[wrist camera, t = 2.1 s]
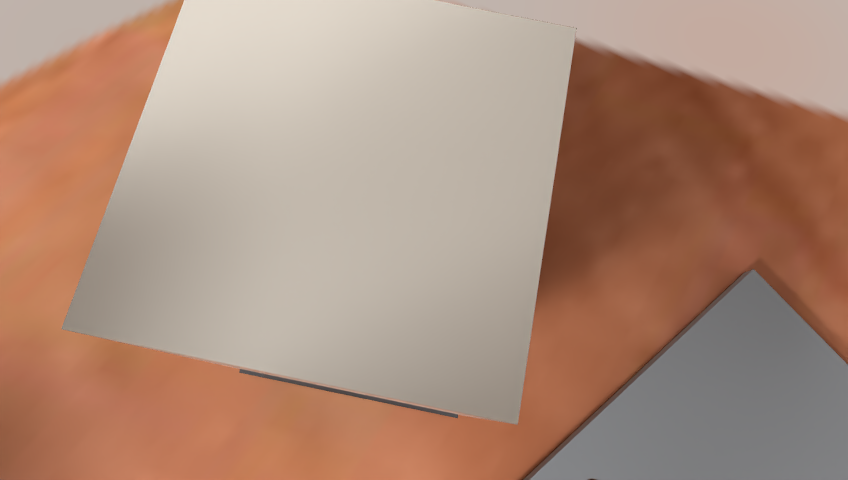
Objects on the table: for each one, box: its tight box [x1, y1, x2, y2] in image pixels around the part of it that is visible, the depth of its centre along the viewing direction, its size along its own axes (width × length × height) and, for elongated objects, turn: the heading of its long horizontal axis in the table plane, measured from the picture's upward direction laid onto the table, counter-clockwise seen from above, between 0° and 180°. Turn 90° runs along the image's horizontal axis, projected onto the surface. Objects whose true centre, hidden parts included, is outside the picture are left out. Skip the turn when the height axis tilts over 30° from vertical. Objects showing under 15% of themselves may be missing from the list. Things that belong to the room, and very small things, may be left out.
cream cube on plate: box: [62, 0, 577, 425], centre depth 13 cm, size 7×7×7 cm
